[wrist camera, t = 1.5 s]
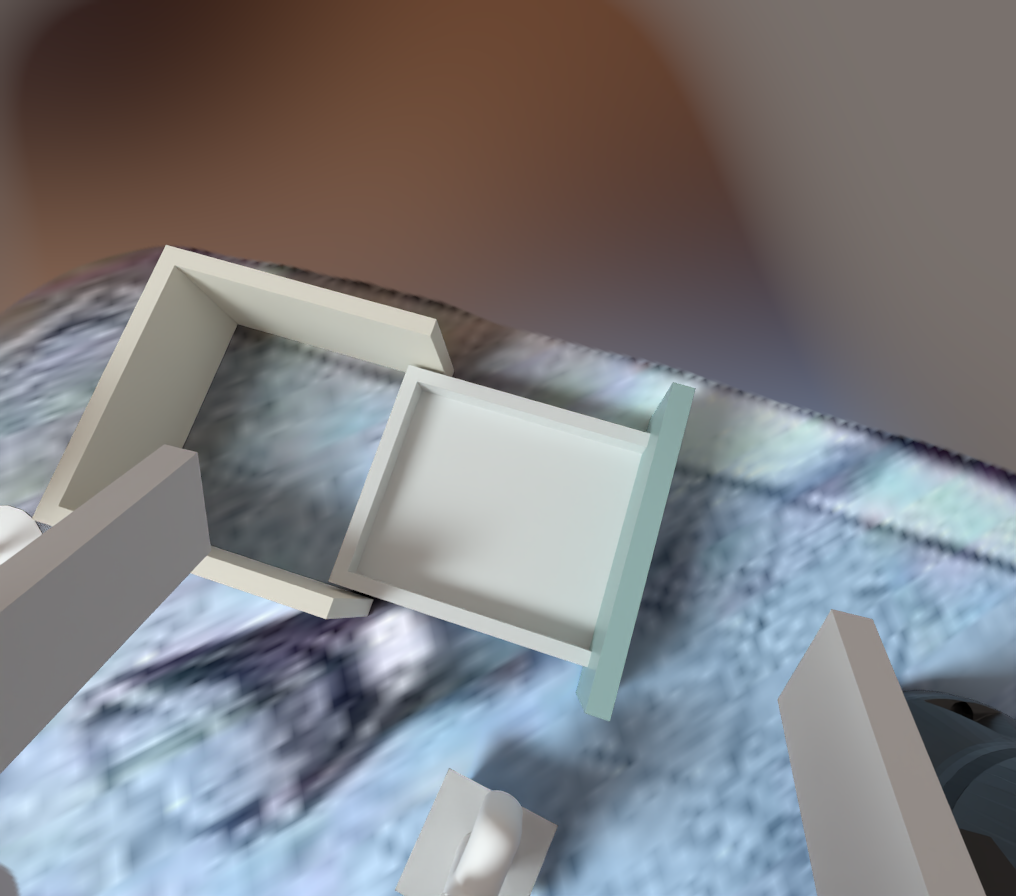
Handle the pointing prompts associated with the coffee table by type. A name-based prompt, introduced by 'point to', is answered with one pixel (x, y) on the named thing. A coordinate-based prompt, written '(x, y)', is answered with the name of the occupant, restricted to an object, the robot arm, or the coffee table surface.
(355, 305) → the cubby
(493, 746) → the coffee table surface
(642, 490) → the tray
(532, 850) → the figurine
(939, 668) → the coffee table surface
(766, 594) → the coffee table surface
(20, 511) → the wineglass
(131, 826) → the coffee table surface
